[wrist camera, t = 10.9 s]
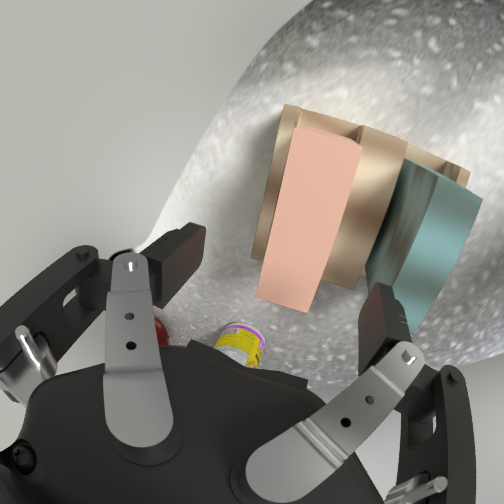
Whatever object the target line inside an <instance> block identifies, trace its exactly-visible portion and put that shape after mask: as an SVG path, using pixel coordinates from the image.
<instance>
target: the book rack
mask: <svg viewBox="0 0 504 504" xmlns="http://www.w3.org/2000/svg"><path fill="white" fill-rule="evenodd" d="M298 127H312V128H316V129H320V130H323V131H327V132H331V133H334V134H338V135H341V136H344V137H348V138H350V139H352V140H353V141H355V142H356V143H358V144H359V145H360V146H362V147H363V148H362V152H361V156H360V159H359V163H358V167H357V170H356V174H355V177H354V181H353V184H352V187H351V191H350V194H349V197H348V201H347V204H346V207H345V210H344V213H343V216H342V219H341V223H340V226H339V229H338V232H337V235H336V238H335V240H334V243H333V246H332V249H331V252H330V255H329V258H328V260H327V263H326V266H325V269H324V271H323V274H322V277H321V279H320V280H323V281H327V282H330V283H333V284H336V285H339V286H343V287H346V288H349V289H353V290H354V288H355V286H356V284H357V282H358V279H359V277H360V275H363V276H366V279H367V286H368V294H369V293H370V292H371V290H372V288H373V286H374V284H375V283H376V282H380V283H383V284H386V285H389V286H392V288H393V292H394V296H395V299H397V300H399V301H400V303H401V304H402V306H403V307H404V310H405V314H406V318H407V324H408V327H409V331H410V334H413V333H414V332H415V330H416V329H417V328H418V326H419V325H420V323H421V321H422V320H423V318H424V317H425V315H426V314H427V312H428V311H429V309H430V307H431V306H432V304H433V302H434V301H435V299H436V297H437V296H438V294H439V292H440V291H441V289H442V287H443V285H444V284H445V282H446V280H447V278H448V276H449V274H450V272H451V271H452V269H453V267H454V265H455V263H456V261H457V259H458V257H459V255H460V253H461V251H462V249H463V246H464V244H465V242H466V240H467V238H468V235H469V233H470V231H471V228H472V226H473V224H474V221H475V219H476V216H477V214H478V211H479V209H480V206H481V203H482V200H483V199H482V198H480V197H478V196H477V195H475V194H474V193H472V192H471V191H469V190H467V189H466V185H467V182H468V179H469V176H470V173H471V172H469V171H468V170H466V169H464V168H462V167H460V166H458V165H455V164H453V163H450V162H448V161H446V160H444V159H442V158H440V157H438V156H435V155H433V154H431V153H429V152H427V151H425V150H422V149H420V148H418V147H415V146H413V145H411V144H408V142H407V141H404V140H402V139H400V138H397V137H395V136H392V135H389V134H387V133H384V132H381V131H379V130H376V129H373V128H370V127H367V126H360V125H357V124H354V123H351V122H348V121H344V120H341V119H338V118H334V117H331V116H327V115H323V114H320V113H316V112H312V111H308V110H304V109H301V108H300V107H297V106H293V105H288V104H284V107H283V111H282V116H281V120H280V125H279V130H278V134H277V139H276V143H275V148H274V153H273V157H272V162H271V167H270V171H269V176H268V180H267V185H266V190H265V194H264V199H263V203H262V208H261V213H260V217H259V222H258V226H257V231H256V236H255V240H254V245H253V250H252V254H251V258H253V259H256V260H259V261H263V259H264V257H265V253H266V249H267V245H268V241H269V236H270V232H271V228H272V223H273V219H274V215H275V210H276V206H277V202H278V197H279V193H280V189H281V184H282V180H283V175H284V171H285V166H286V162H287V157H288V153H289V148H290V144H291V139H292V135H293V130H294V128H298Z"/></svg>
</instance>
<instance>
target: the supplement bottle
mask: <svg viewBox="0 0 504 504" xmlns="http://www.w3.org/2000/svg"><path fill="white" fill-rule="evenodd" d="M264 348H265V339H264V336H263V335H262V333H261V332H260V331H259V330H258V329H257V328H255V327H254V326H252V325H249V324H246V323H239V322H237V323H232V324H230V325H228V326H227V327H226V328H225V329H224V330H223V332H222V334H221V336H220V338H219V339H218V341H217V343H216V345H215V347H214V349H217V350H219V351H221V352H222V353H224V354H226V355H227V356H229V357H230V358H232V359H234V360H235V361H237V362H238V363H240V364H242V365H243V366H245V367H248V368H255V369H257V368H258V365H259V363H260V360H261V357H262V354H263V351H264Z"/></svg>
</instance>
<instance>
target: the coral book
mask: <svg viewBox="0 0 504 504" xmlns="http://www.w3.org/2000/svg"><path fill="white" fill-rule="evenodd" d="M362 148H363V147H362V146H360V145H359V144H358V143H356V142H355V141H353V140H352V139H350V138H348V137H344V136H341V135H338V134H334V133H331V132H327V131H323V130H320V129H316V128H312V127H298V128H294V130H293V135H292V139H291V144H290V148H289V153H288V157H287V162H286V166H285V171H284V175H283V180H282V184H281V189H280V193H279V197H278V202H277V206H276V210H275V215H274V219H273V223H272V228H271V232H270V236H269V241H268V245H267V249H266V253H265V258H264V262H263V266H262V270H261V274H260V279H259V283H258V287H257V291H256V295H255V297H256V298H259V299H263V300H266V301H269V302H272V303H275V304H279V305H282V306H285V307H288V308H292V309H295V310H298V311H301V312H305V313H308V310H309V308H310V305H311V303H312V300H313V298H314V295H315V292H316V290H317V287H318V285H319V282H320V279H321V277H322V274H323V271H324V269H325V266H326V263H327V260H328V258H329V255H330V252H331V249H332V246H333V243H334V240H335V238H336V235H337V232H338V229H339V226H340V223H341V219H342V216H343V213H344V210H345V207H346V204H347V201H348V197H349V194H350V191H351V187H352V184H353V181H354V177H355V174H356V170H357V167H358V163H359V159H360V156H361V152H362Z"/></svg>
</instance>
